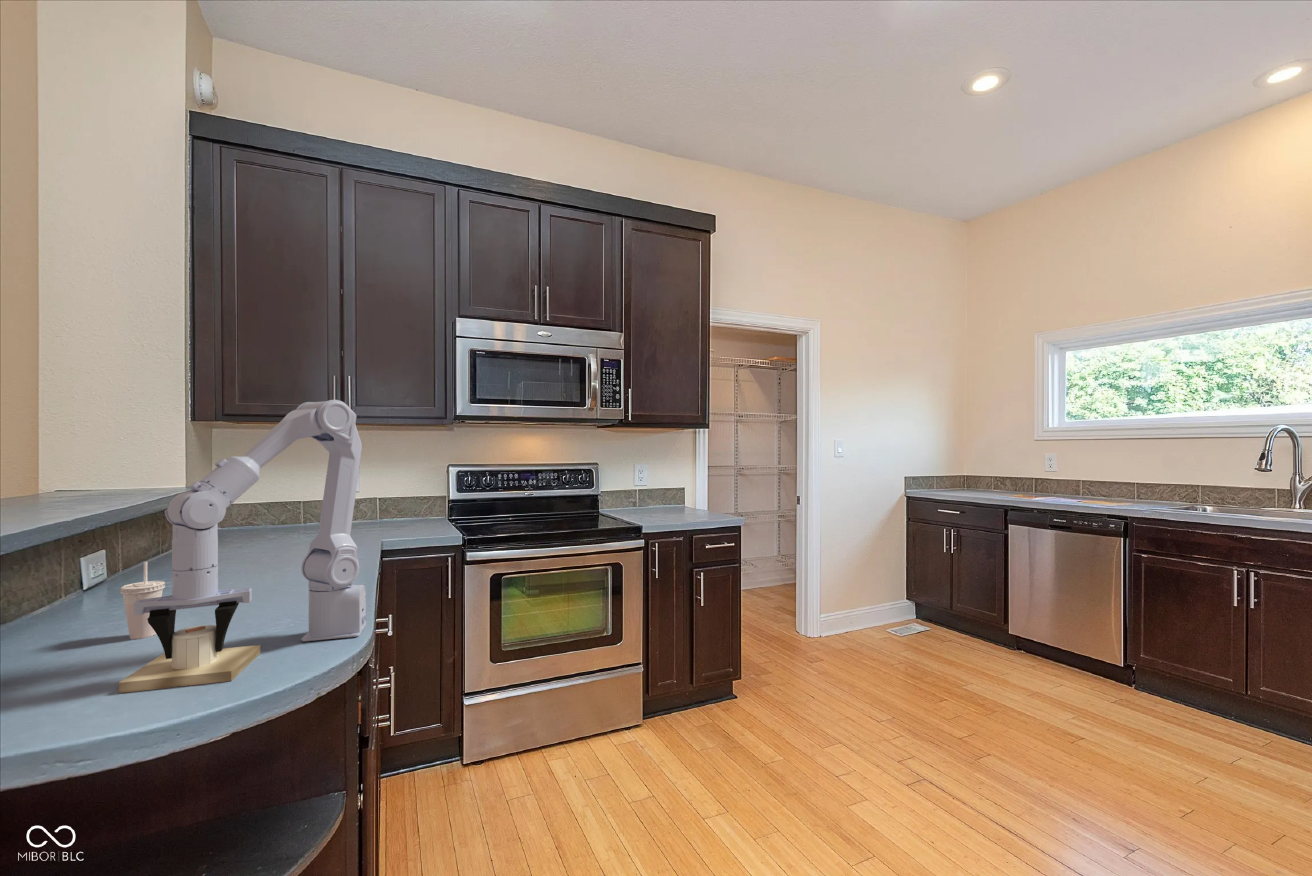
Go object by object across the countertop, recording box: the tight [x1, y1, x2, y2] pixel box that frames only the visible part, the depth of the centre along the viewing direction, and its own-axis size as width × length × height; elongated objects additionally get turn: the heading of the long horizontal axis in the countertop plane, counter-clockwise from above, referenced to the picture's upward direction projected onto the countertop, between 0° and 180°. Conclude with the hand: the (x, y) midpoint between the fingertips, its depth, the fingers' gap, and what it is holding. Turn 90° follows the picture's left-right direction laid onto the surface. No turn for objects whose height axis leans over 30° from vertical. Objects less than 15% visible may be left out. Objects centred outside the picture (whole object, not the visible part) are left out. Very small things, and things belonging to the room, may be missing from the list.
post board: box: [118, 644, 262, 694], centre depth 92 cm, size 14×12×5 cm
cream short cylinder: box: [172, 624, 218, 669], centre depth 92 cm, size 6×6×5 cm
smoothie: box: [119, 561, 166, 640], centre depth 109 cm, size 6×6×14 cm
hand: (195, 653), depth 92 cm, fingers closed on cream short cylinder, 5 cm apart
